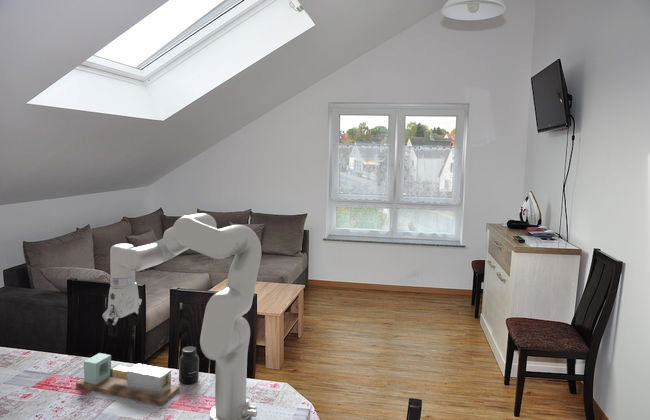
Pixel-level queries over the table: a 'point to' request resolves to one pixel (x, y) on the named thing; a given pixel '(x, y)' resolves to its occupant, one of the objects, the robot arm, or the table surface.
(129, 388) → the steel sleeve
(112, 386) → the walnut base board
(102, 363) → the sage socket block
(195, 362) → the supplement bottle
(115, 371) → the brass inner tube
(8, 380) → the table surface
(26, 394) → the table surface
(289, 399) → the table surface
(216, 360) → the robot arm
